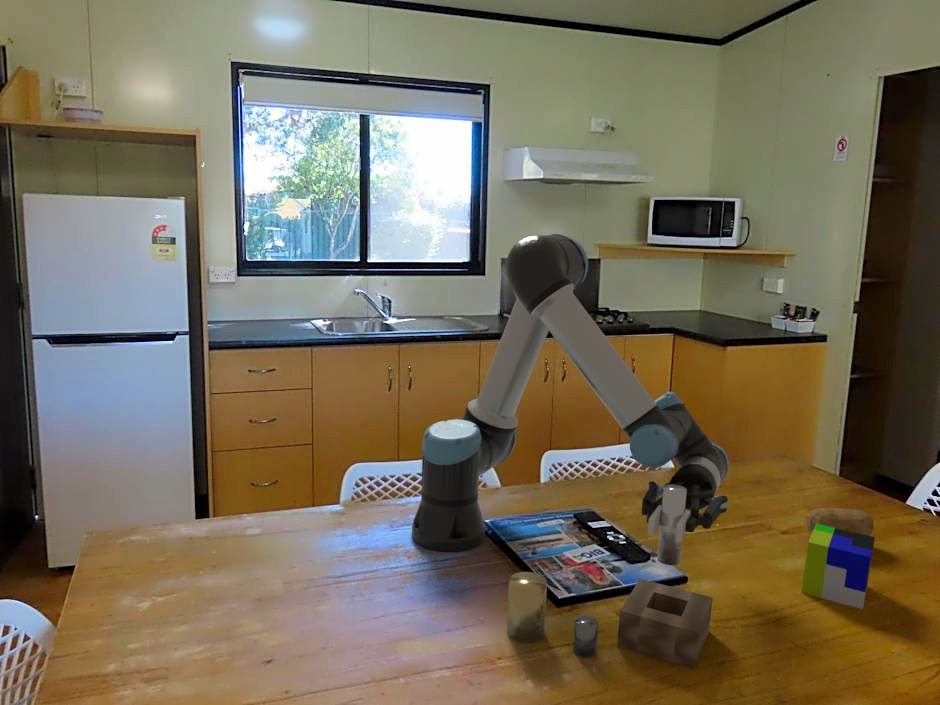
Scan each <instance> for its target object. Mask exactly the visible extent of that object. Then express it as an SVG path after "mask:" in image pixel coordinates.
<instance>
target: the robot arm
mask: <svg viewBox="0 0 940 705" xmlns="http://www.w3.org/2000/svg"><path fill="white" fill-rule="evenodd" d="M505 262H506V263H505V273H506V277H507V280H508V283H509V286H510V288H511V289H512V291H513V294H514V296H515V302H514V305H513V307H512V309H511V312H510V315H509V317H508V320H507V323H506V326H505V327H504V331H503V333H502V335H501V338H500V341H499V343H498V346H497V348H496V351H495V353H494V356H493V358H492V362H491V363H490V366H489V369H488V371H487V374H486V376H485V379H484V381H483V384H482V387H481V389H480V392H479V394H478V397H477V398H474V399H472V400H470V401H469V402H468V404H467V406H466V407H465V408H466V409H465V410H464V413H463V416H462V418H461V419H453V418H452V419H447V420H445V421H444V420H440V421H438V422H434V423H433V424H431V425H430V426H428V427H427V429H425V432H424V433H423V438H422V439H423V440H422V445H421V453H422V456H421V459H422V460H421V496H420V502H419V505H418V507H417V510H416V512H415V516H414V518H413V521H412V525H411V538H412V540H413V541H414V542H415V543H416V544H417V545H419V546H421V547H424V548H426V549H430V550H433V551H434V550H435V551H441V552H461V551H466V550H471V549H473V548H476V547H477V546H478V547H479V545H481V544H482V543H483V542H484V540H485V537H486V525H485V521H484V518H483V515H482V512H481V511H482V510H481V508H480V505H479V484H480V483H479V480H480V477H481V476H482V475H484V474H486V472H488V471H489V470H491V469H493V468H494V467H497V466H499V465H500V464H502V463H504V461H506V459H507V458H508V457H509V456H510V455H511V454H512V453H513V451H514V448H515V446H516V442H517V431H516V430H517V428H518V425H519V418H518V417H517V415H516V411H517V408H518V406H519V403H520V401H521V399H522V396H523V394H524V392H525V390H526V386H527V385H528V381H529V379H530V377H531V375H532V372H533V370H534V367H535V365H536V363H537V361H538V357H539V355H540V352H541V350H542V347H543V345H544V343H545V341H546V338H547V336H548V334H549V332H550V334H551V335H552V336H553V338H554V339H555V341H556V342H557V343H558V344H559V346H560V347H561V349H562V351H564V353H565V354H566V355H567V356H568V358H569V359H570V361H571V362H572V363H573V365H574V366H575V367H576V369H577V370H578V371H579V373H580V374H581V375H582V376H583V378H584V380H585V381H586V382H587V383H588V385H589V386H590V388H591V389H592V390H593V392H594V393H595V394H596V395H597V397H598V398H599V399H600V401H601V402H602V404H603V405H604V406H605V408H606V409H607V411H609V413H610V414H611V416H612V417H613V418H614V420H615V421H616V422H617V424H618V425H619V427H621V429H622V431H623V432H624V433H625V435H626V436H627V437H628V439H629V450H630V454H631V455H632V458H633V459H634V460H635V461H636V462H637V463H638V464H639V465H641V466H643V467H645V468H648V469H649V468H651V469H656V468H661V467H663V466H665V465H666V464H667V463H669V462H671V461H672V460H674V461H675V462H676V464H677V465H678V466H679V467H678V468H677V469H676V471H675V472H674V474H673V475H672V477H671V478H670V480H669V482H667V483H664V484H663V486H662V485H661V486H660V484H658V483H656V481H648V486H647V491H646V493H645V495H644V497H643V498H642V502H641V515H642V516H646V523H647V533H646V534H647V535H646V536H647V537H652V538H653V536H654V535H655V533H656V532H657V530H658V529H659V528H660V521H661V510H662V499H663V487H664V486H665V485H669V484H673V485H679V486H683V487H685V488H686V489H687V493H686V503H685V513H684V514H683V516H682V517H681V519H680V520H679V522H678V524H677V527H676V537H675V542H677V543H681V541H682V542H683V539H684V537H685V535H686V534H687V532H688V533H693V532H695V530H696V528H698V526H701V527H702V529H705V530H708V529H709V530H710V529H711V527H712V526H713V524H714V523H715V522H716V520H717V519H718V518H719V516H720V515H722V514H723V513H724V514H725V513H726V512H727V508H728V501H729V500H728V496H727V495H719V496H716V495H715V494H716V493H717V491H718V489H719V488H720V485H721V483H722V482H723V480H725V478H726V476H727V473H728V469H729V463H730V462H729V458H728V457H729V456H728V455H727V452H726V451H725V450H724V448H722V446H719V445H718V444H716V443H713V442H712V441H711V440H710V439H709V438H708V436H707V435H706V434H705V432H704V431H703V429H702V428H701V426H700V425H699V424H698V422H697V421H696V419H695V418H694V417H693V415H692V414H691V412H690V411H689V408H687V406H686V404H685V402H683V401H682V400H681V399H680V398H679V396H678V395H677V393H675V392H673V391H667V392H666V393H664V394H663V395H660V396H659V397H657V398H656V399H654V398H653V397H652V396H651V394H650V393H649V392H648V390H647V389H646V388H645V386H643V384H642V382H640V380H639V379H638V377H637V376H636V374H635V373H634V372H633V371H632V369H631V367H629V365H628V364H627V363H626V361H625V360H624V359H623V357H622V356H621V355H620V353H619V352H618V351H617V349H616V348H615V347H614V346H613V344H612V343H611V342H610V340H609V339H608V338H607V336H606V335H605V334H604V332H603V331H602V330H601V328H600V327H599V326H598V325H597V323H596V322H595V320H594V319H593V318H592V316H591V315H590V314H589V313H588V311H587V310H586V309H585V307H584V306H583V305H582V302H580V301H579V299H578V298H577V297H576V295H575V294H574V290H576V289H578V288H579V287H580V286H581V285H582V283H583V282H584V281H585V279H586V277H587V275H588V270H589V259H588V255H587V253H586V251H585V249H584V247H583V246H582V245H581V243H580V242H578V241H577V240H576V239H574V238H572V237H571V236H567V235H563V234H561V233H552V234H546V235H545V234H544V235H541V234H533V235H530V236H526V237H524V238H521V239H520V240H519V241H518V242H516V243H515V244H514V245H513V246H512V247H511V249H510V251H509V253H508V254H507V258H506V261H505ZM661 495H662V496H661ZM702 509H704V510H703V512H702V513H700V510H702Z"/></svg>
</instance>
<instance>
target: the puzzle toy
mask: <svg viewBox="0 0 940 705" xmlns="http://www.w3.org/2000/svg"><path fill="white" fill-rule="evenodd" d="M874 545H875V536H871V535H869V536H868V535H863V534H859V533H855V532H850V531H846V530H842V529H837V528H833V527H829V526H824V525H820V524H816V525H815V527H814V530H813V532H812V534H811V533H810V536H809V539H808V542H807V549H806V556H805V557H806V558H805V565H804V571H803V572H804V573H803V580H802V587H801V593H802V594H805V593H806V595H809V596H812V595H813V597H817V598H819V599H823V600H827V601H830V600H831V602H834V601H835V602H834V603H837V604H841V605H842V604H843V605H845V604H846V606H848V605H850V606H849V607H852V606H853V608H856V607H857V609H859V608H860V610H863V609H864V605H865V601H866V600H865V599H866V595H867V592H868V591H867V589H868V585H869V578H870V572H871V564H872V559H873V558H872V557H873V551H874Z"/></svg>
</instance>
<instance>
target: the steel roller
mask: <svg viewBox="0 0 940 705" xmlns="http://www.w3.org/2000/svg"><path fill="white" fill-rule="evenodd" d="M664 485H665V484H664ZM664 485H663V486H664ZM686 493H687V489H686V488H685V487H683V486H679V485H673V484H669V485H665V486H664V487H663V494H662V496H663V499H662V510H661V521H660V526H659V534H658V544H657V545H658V547H657V554H656V556H657V561H658V562H659V563H661V564H662V565H663V564H664V565H666V566H677V565H679V564H680V563H681V555H682V554H681V553H682V543H683V540H682V541H681V543H677V542H675V537H676V527H677V524H678V522H679V520H680V519H681V517H682V516H683V514H684V513H685V511H686V509H685V503H686Z"/></svg>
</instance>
